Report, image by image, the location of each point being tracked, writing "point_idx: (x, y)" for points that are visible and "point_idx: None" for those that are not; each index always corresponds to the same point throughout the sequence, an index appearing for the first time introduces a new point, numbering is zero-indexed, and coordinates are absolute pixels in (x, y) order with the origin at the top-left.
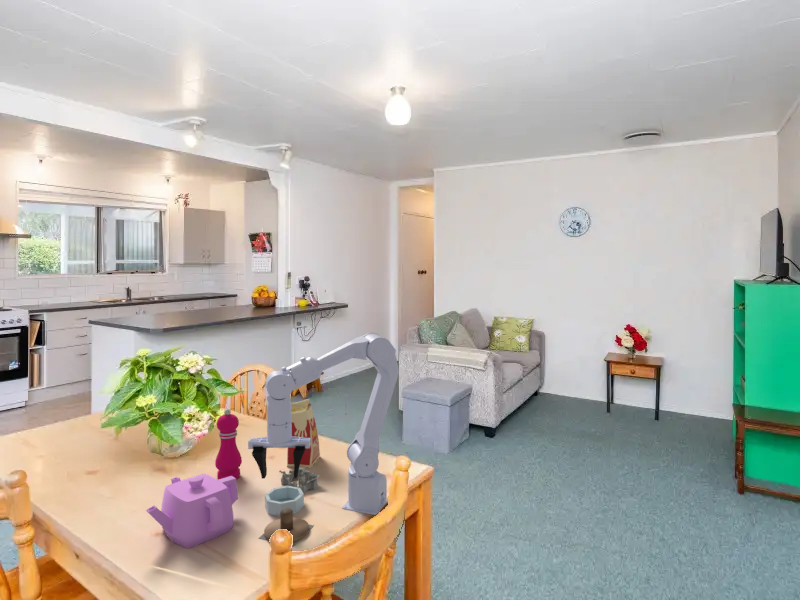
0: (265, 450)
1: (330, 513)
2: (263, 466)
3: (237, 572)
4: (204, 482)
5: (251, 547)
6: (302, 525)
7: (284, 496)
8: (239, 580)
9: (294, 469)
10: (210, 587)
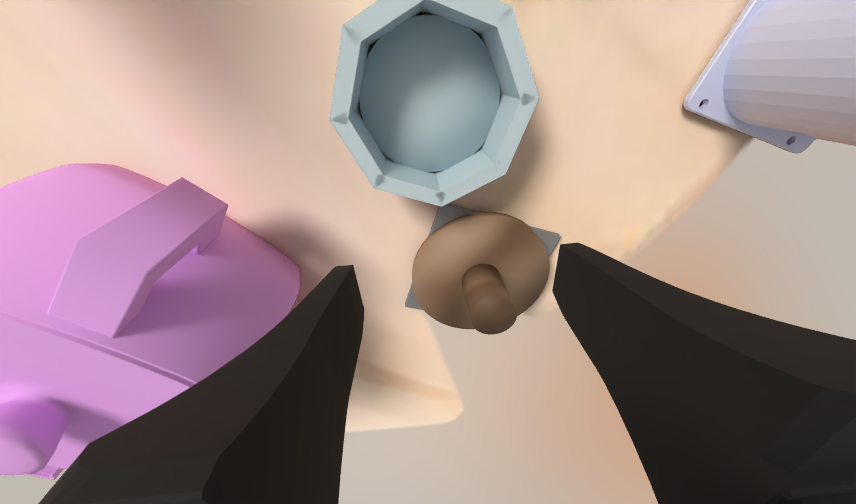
0: (282, 458)
1: (625, 139)
2: (346, 387)
3: (405, 391)
4: (24, 370)
5: (399, 329)
6: (528, 261)
7: (409, 16)
8: (418, 405)
9: (587, 348)
10: (374, 420)
